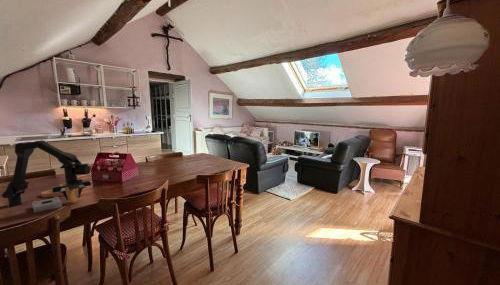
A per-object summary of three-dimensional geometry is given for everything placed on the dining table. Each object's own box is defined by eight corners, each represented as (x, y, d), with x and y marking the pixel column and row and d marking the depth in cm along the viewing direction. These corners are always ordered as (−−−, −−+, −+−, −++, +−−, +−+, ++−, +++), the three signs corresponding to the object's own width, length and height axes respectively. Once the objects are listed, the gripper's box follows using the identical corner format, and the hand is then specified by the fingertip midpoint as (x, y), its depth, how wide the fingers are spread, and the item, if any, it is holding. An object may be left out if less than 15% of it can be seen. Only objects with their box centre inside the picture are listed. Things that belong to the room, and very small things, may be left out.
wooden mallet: (76, 191, 160) (75, 182, 160) (71, 195, 152) (70, 185, 152) (45, 194, 155) (44, 184, 154) (38, 198, 147) (37, 188, 146)
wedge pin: (69, 202, 139) (67, 189, 138) (76, 200, 142) (75, 188, 141) (70, 203, 137) (68, 191, 136) (77, 202, 140) (76, 189, 139)
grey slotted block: (32, 207, 132) (32, 201, 131) (59, 201, 141) (58, 196, 140) (34, 213, 124) (33, 206, 123) (62, 206, 132) (61, 200, 132)
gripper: (52, 180, 125) (55, 207, 127) (92, 174, 139) (94, 198, 141) (50, 177, 133) (52, 202, 135) (87, 171, 146) (89, 194, 148)
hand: (73, 199), depth 139 cm, fingers open, 5 cm apart
